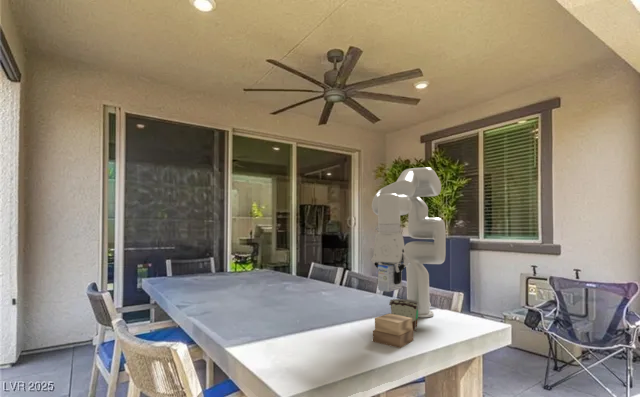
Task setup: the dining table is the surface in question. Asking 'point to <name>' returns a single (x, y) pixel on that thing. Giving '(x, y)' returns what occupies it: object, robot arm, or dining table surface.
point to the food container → (406, 309)
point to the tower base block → (393, 338)
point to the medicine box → (387, 278)
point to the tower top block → (393, 324)
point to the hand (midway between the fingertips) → (390, 282)
